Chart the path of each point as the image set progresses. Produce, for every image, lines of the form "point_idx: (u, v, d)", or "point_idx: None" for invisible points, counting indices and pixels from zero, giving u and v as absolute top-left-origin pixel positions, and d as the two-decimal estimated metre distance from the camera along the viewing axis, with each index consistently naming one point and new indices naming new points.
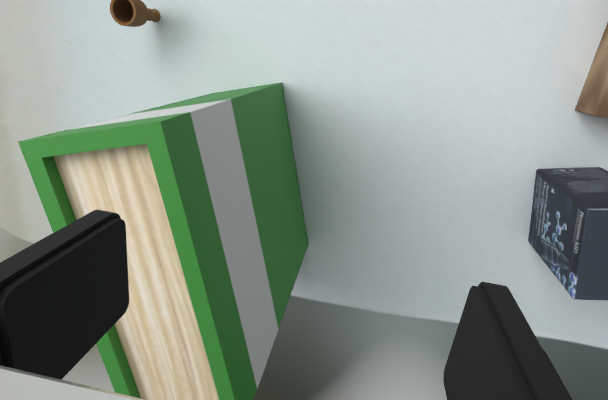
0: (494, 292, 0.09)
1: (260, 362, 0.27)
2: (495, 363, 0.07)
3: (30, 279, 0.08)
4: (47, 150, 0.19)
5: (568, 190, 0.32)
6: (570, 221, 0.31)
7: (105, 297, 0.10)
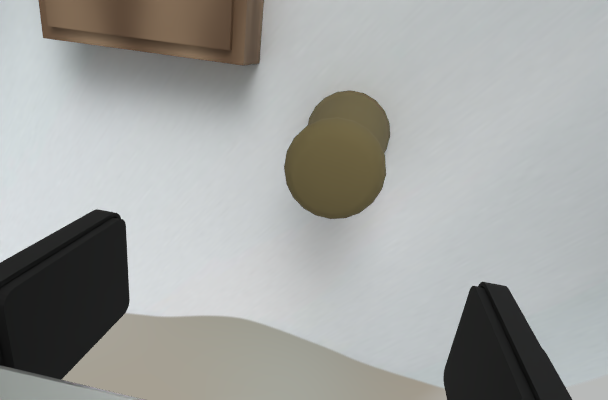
0: (494, 292, 0.09)
1: None
2: (495, 363, 0.07)
3: (30, 279, 0.08)
4: None
5: None
6: None
7: (105, 297, 0.10)
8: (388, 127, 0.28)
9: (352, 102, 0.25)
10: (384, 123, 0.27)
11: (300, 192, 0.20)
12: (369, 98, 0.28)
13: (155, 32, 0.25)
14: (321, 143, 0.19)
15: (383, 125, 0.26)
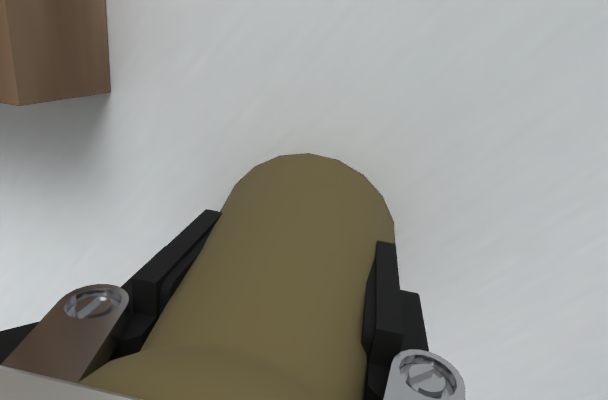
0: (381, 247, 0.10)
1: None
2: None
3: (183, 272, 0.08)
4: None
5: None
6: None
7: None
8: (392, 235, 0.13)
9: (303, 198, 0.10)
10: (383, 237, 0.11)
11: None
12: (349, 173, 0.12)
13: None
14: None
15: None
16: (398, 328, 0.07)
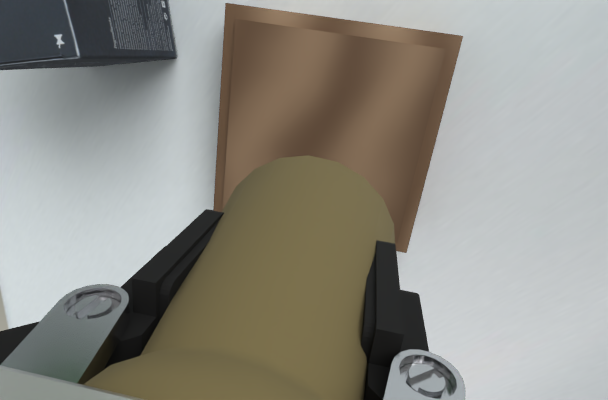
0: (381, 247, 0.10)
1: None
2: None
3: (183, 272, 0.08)
4: None
5: None
6: None
7: None
8: (392, 237, 0.13)
9: (303, 201, 0.10)
10: (384, 239, 0.11)
11: None
12: (349, 175, 0.12)
13: None
14: None
15: None
16: (398, 328, 0.07)
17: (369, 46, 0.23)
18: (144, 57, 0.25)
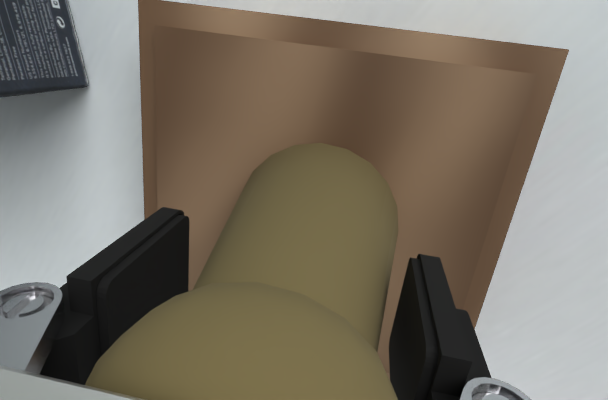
0: (426, 262, 0.10)
1: None
2: (415, 319, 0.08)
3: (124, 270, 0.08)
4: None
5: None
6: None
7: (172, 289, 0.11)
8: (396, 218, 0.14)
9: (319, 179, 0.11)
10: (389, 217, 0.13)
11: None
12: (358, 160, 0.14)
13: None
14: None
15: (388, 225, 0.12)
16: (464, 353, 0.07)
17: (393, 70, 0.13)
18: (8, 93, 0.15)
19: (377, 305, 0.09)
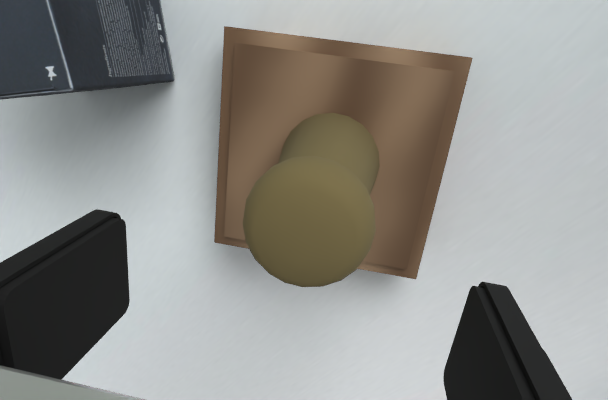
0: (494, 292, 0.09)
1: None
2: (495, 363, 0.07)
3: (30, 279, 0.08)
4: None
5: None
6: None
7: (105, 297, 0.10)
8: (377, 157, 0.23)
9: (334, 129, 0.21)
10: (373, 153, 0.22)
11: (262, 255, 0.15)
12: (355, 122, 0.23)
13: None
14: (289, 193, 0.14)
15: (372, 156, 0.22)
16: None
17: (375, 69, 0.22)
18: (140, 83, 0.24)
19: (364, 183, 0.18)
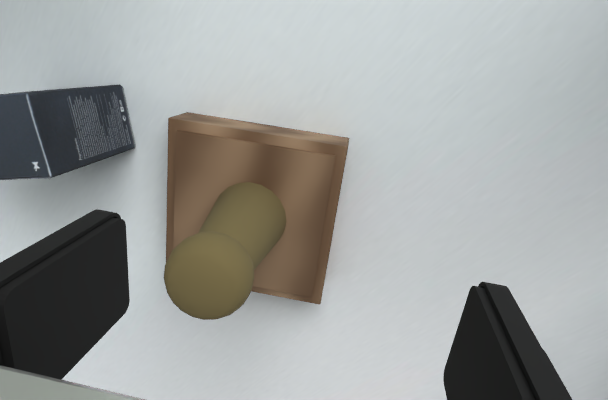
0: (494, 292, 0.09)
1: None
2: (495, 363, 0.07)
3: (30, 279, 0.08)
4: None
5: (71, 92, 0.28)
6: None
7: (105, 297, 0.10)
8: (283, 215, 0.31)
9: (244, 200, 0.29)
10: (276, 215, 0.30)
11: (175, 299, 0.23)
12: (265, 190, 0.31)
13: (256, 282, 0.34)
14: (189, 261, 0.22)
15: (274, 218, 0.29)
16: None
17: (278, 153, 0.30)
18: (105, 157, 0.32)
19: (257, 243, 0.26)
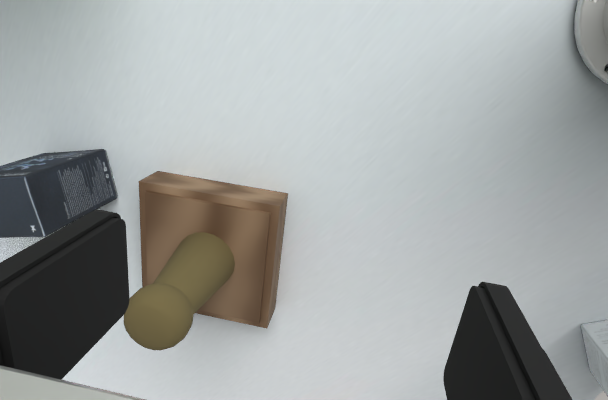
0: (494, 292, 0.09)
1: None
2: (495, 363, 0.07)
3: (30, 279, 0.08)
4: None
5: (60, 166, 0.36)
6: (26, 170, 0.35)
7: (105, 297, 0.10)
8: (231, 259, 0.39)
9: (195, 250, 0.36)
10: (223, 260, 0.37)
11: (131, 335, 0.30)
12: (216, 239, 0.38)
13: (214, 309, 0.42)
14: (139, 309, 0.29)
15: (220, 263, 0.37)
16: None
17: (225, 210, 0.38)
18: (90, 211, 0.40)
19: (200, 288, 0.34)
